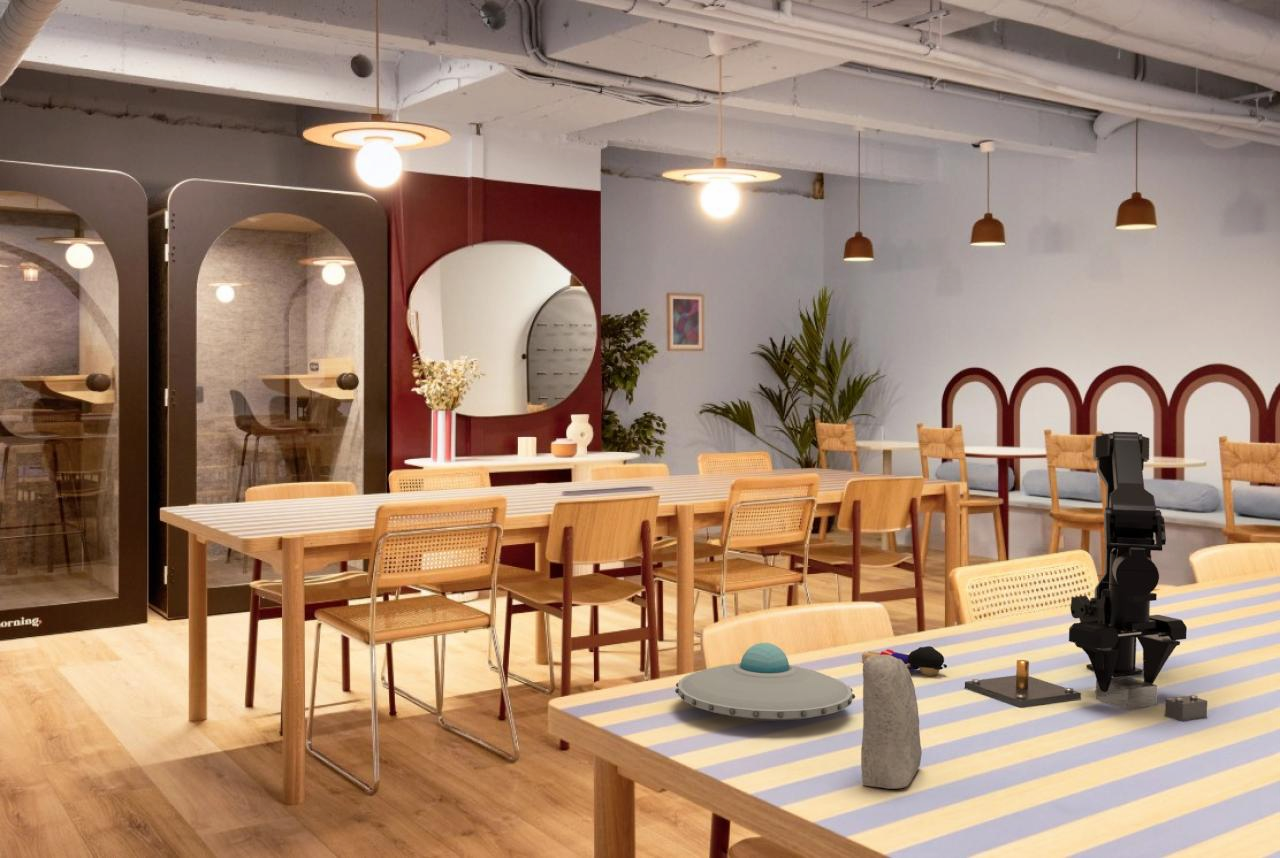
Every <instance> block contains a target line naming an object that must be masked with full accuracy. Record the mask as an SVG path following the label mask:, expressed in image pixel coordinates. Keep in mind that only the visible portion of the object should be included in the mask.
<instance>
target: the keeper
mask: <svg viewBox="0 0 1280 858" xmlns="http://www.w3.org/2000/svg"><path fill="white" fill-rule="evenodd" d="M1029 671H1030V661H1029V660H1027V659H1017V660H1016V673H1015V675H1009V676H999V677H991V678H984V679H978V678H977V679H975V678H974V679H971V680H968V681H964V689H967V690H969V691H971V692H974V693H975V692H976V693H977V694H979V695H980V694H981V695H983V696H986V697H989V698H993V699H995V700H998V701H1001V702H1003V703H1006V704H1009V705H1013V706H1014V707H1015V706H1016V707H1018V708H1026V707H1028V708H1029V707H1033V706H1035V707H1036V706H1042V705H1049V704H1056V703H1063V702H1070V701H1076V700H1077V701H1078V700H1081V697H1082V693H1081V691H1077V690H1074V688H1071V687H1065V686H1062V685H1059V684H1055V683H1052V682H1048V681H1046V680H1042V679H1041V678H1040V679H1039V678H1036V677H1032V676H1030V675H1029Z"/></svg>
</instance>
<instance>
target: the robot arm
mask: <svg viewBox="0 0 1280 858" xmlns="http://www.w3.org/2000/svg"><path fill="white" fill-rule="evenodd" d="M1092 445H1093V447H1092V460H1093V461H1096V471H1097V473H1098V475H1099V477H1100V479H1101V480H1102V482H1103V484H1104V485H1105V487H1106V493H1105V494H1106V495H1105V498H1106V499H1105V507H1104V513H1103V531H1104V532H1103V534H1104V546H1105V551H1104V552H1105V553H1104V573H1103V575H1102V577H1101V579H1100V580H1099V582H1098V583H1097V584H1096V585H1095V588H1094V597H1090V599H1089V598H1088V596H1087V595H1078V596H1073V597H1071V602H1070V606H1069V608H1070V614H1071V617H1072V618H1073V619H1079V622H1073V624H1072V625H1071V626H1070V627H1069V628H1068V642H1069V643H1074V645H1075V646H1076V648H1079V649H1082V650H1083V652H1084V653H1085V654H1086V655H1087V657H1088V659H1089V661H1090V663H1089V664H1086V665H1085V668H1086V669H1090V670H1093V672H1094V676H1095V679H1096V680H1097V682H1098V685H1099V688H1100V690H1101V691H1103V692H1107V691H1108V689H1109V686H1110V683H1111V679H1112V678H1113V676H1115V677H1121V676H1126V675H1134V674H1142V673H1143V681H1144V682H1147V683H1151V684H1154V683H1155V681H1156V680H1157V678H1158V676H1159V674H1160V672H1161V670H1162V669H1163V667H1164V665H1165V664H1166V662H1168V661H1167V660H1168V659H1169V657H1171V655H1172V654H1173V652H1174V650H1175V649H1176V647H1177V646H1180V645H1181V640H1187V630H1188V628H1187V626H1186V624H1185V622H1184V621H1183V620H1182V619H1179V618H1176V617H1170V616H1167V615H1160V614H1152V615H1151V614H1150V613H1151V612H1150V611H1151V608H1150V607H1151V602H1152V601H1157V593H1154V592H1153V591H1154V590H1155V589H1156V587H1157V586H1158V584H1159V580H1160V572H1159V570H1158V567H1157V566H1156V564H1155V562H1154V561H1153V560H1152V551H1154V552H1155V551H1157V552H1163V546H1165V545H1166V542H1167V537H1166V525H1165V517H1164V516H1163V515H1162V511H1161V510H1160V509H1157V507H1156V506H1157V505H1156V501H1155V496H1154V495H1153V494H1152V493H1151V492H1150V491H1148V490H1146V489H1145V485H1144V473H1143V471H1144V465H1145V464H1144V463H1148V462H1149V460H1150V437H1147V436H1143V434H1142V433H1139V432H1136V431H1113V432H1111V433H1110V432H1109V433H1105V432H1104V433H1102V432H1101V435H1097V436H1095V437H1094V439H1093V444H1092ZM1154 538H1155V539H1154ZM1137 640H1138V642H1139V643H1140V646H1141V647H1142V668H1139V667H1136V662H1137V661H1136V660H1137V659H1136V658H1137Z"/></svg>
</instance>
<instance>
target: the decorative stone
mask: <svg viewBox="0 0 1280 858" xmlns="http://www.w3.org/2000/svg"><path fill="white" fill-rule="evenodd" d="M862 678H863V679H862V682H863V683H862V709H863V711H862V712H863V713H862V714H863V715H862V716H863V717H862V718H863V720H862V721H863V724H862V725H863V726H862V740H861V750H860V751H861V752H860V753H861V754H860V757H861V758H860V761H861V763H860V767H861V783H862V785H864V786H865V787H873V788H884V789H888V790H891V789H903V788H906V787H908V786H909V784H911V782H912V781H913V778H914V776H915V775H916V773H917V771H918V770H919V768H920V766H921V760H922V745H921V736H920V734H921V733H920V718H919V708H918V702H917V695H916V690H915V689H916V688H915V684H914V681H913V678H912V675H911V672H910V669H908V668H907V666H906V665H905V664H904V662H903V661H902V660H901V659H897V658H895V657H893V656H890V655H872V656H870V657H868V658H867V659H866V660H865V661H864V663H863V665H862Z"/></svg>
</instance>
